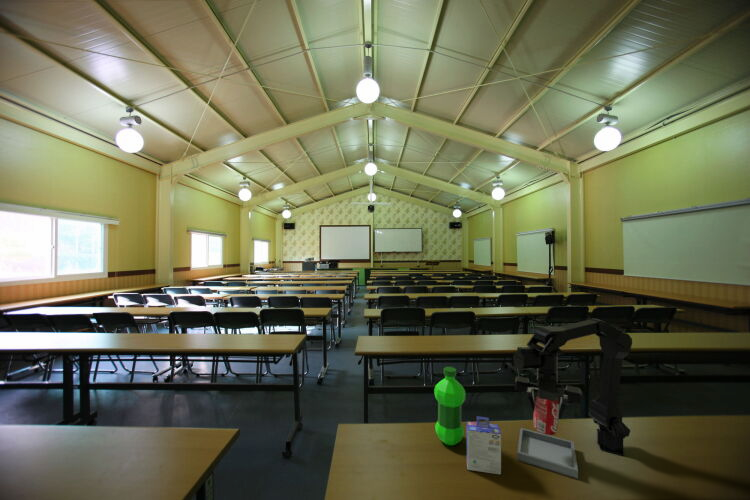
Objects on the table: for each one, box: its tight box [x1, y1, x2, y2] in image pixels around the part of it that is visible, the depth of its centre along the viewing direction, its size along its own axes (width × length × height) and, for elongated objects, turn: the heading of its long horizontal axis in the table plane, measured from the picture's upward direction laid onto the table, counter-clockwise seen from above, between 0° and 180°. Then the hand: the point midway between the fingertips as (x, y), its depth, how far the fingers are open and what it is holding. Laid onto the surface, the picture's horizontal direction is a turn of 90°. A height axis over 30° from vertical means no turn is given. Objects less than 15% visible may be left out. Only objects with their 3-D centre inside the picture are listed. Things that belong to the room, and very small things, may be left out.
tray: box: [516, 427, 579, 480], centre depth 98 cm, size 16×15×2 cm
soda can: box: [532, 393, 560, 436], centre depth 98 cm, size 7×7×12 cm
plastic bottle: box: [433, 366, 467, 446], centre depth 105 cm, size 10×10×25 cm
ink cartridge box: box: [466, 415, 502, 475], centre depth 93 cm, size 10×6×14 cm, turn 78°
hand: (546, 415), depth 98 cm, fingers closed on soda can, 7 cm apart
